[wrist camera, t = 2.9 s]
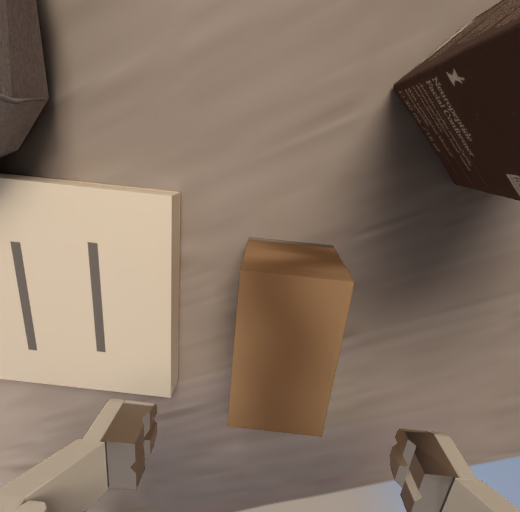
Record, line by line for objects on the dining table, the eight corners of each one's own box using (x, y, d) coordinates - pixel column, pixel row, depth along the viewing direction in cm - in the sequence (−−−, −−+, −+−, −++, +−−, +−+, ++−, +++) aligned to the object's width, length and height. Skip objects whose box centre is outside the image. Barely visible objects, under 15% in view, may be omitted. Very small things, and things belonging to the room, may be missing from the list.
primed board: (180, 191, 16) (171, 196, 15) (178, 380, 20) (170, 397, 19) (-123, 160, 16) (-160, 161, 15) (-68, 353, 20) (-93, 368, 19)
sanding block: (332, 245, 17) (354, 282, 12) (310, 367, 20) (321, 436, 15) (249, 236, 17) (240, 270, 12) (238, 359, 20) (227, 426, 15)
